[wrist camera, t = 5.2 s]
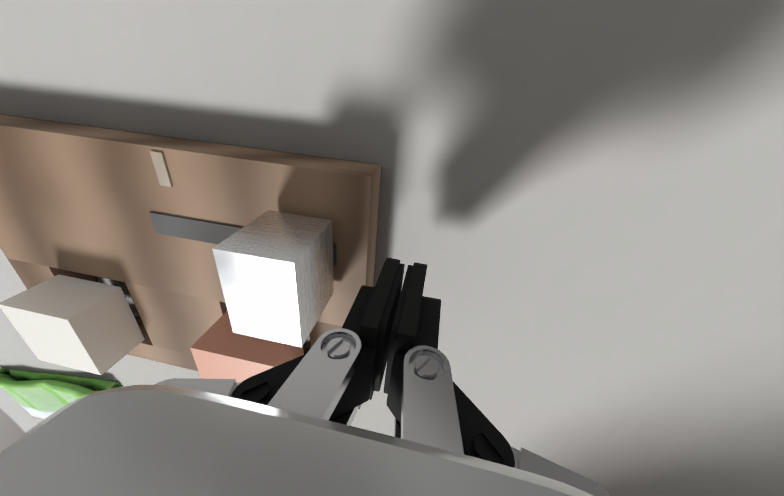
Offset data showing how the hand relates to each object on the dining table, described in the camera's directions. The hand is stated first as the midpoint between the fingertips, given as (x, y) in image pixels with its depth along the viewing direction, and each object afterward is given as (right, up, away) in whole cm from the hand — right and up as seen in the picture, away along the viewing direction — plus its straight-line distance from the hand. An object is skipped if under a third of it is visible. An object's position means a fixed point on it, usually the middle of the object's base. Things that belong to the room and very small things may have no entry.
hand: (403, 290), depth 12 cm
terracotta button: (-8, -4, +6) cm, 11 cm away
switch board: (-13, +1, +7) cm, 15 cm away
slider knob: (-5, +2, +2) cm, 5 cm away
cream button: (-20, -2, +8) cm, 21 cm away
